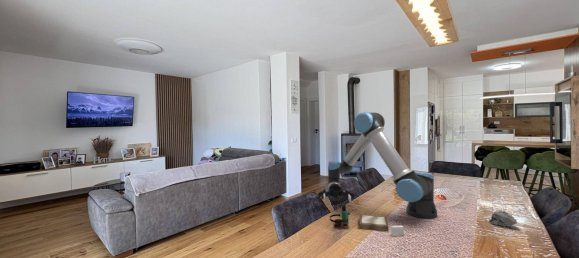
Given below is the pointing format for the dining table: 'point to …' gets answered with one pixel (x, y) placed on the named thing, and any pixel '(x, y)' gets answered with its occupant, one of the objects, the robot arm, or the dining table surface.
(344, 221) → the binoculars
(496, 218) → the mineral specimen
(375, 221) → the plinth
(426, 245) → the dining table surface
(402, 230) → the price sign
